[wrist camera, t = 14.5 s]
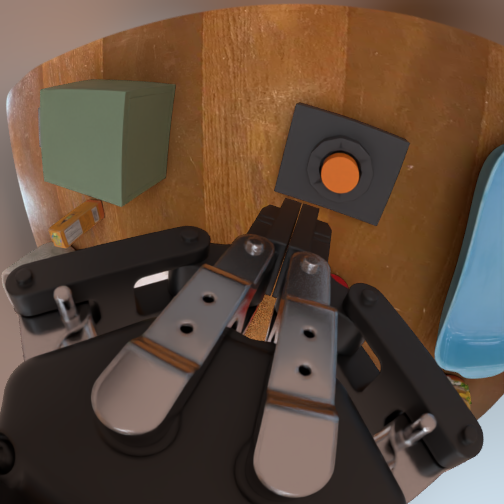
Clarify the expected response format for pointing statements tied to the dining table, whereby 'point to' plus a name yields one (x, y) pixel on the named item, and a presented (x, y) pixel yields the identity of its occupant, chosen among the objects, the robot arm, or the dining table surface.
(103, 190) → the cabinet
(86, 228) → the supplement box
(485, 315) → the casserole dish
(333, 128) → the panel
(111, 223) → the dining table surface
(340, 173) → the button
